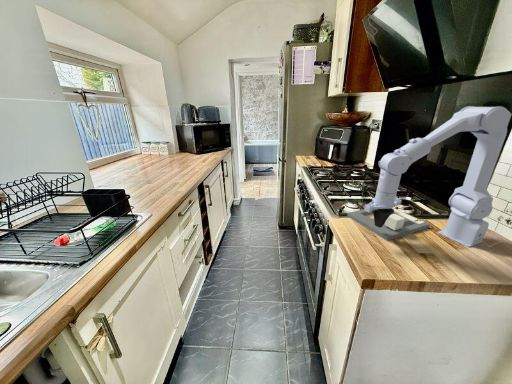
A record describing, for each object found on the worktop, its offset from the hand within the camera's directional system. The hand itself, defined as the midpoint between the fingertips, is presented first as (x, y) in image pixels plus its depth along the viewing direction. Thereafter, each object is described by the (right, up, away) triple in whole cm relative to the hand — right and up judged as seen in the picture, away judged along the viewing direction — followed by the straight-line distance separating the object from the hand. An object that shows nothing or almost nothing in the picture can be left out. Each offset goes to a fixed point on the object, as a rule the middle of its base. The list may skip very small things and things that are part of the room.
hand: (378, 226), depth 76 cm
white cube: (+8, -1, +3) cm, 8 cm away
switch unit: (+9, 0, +11) cm, 14 cm away
